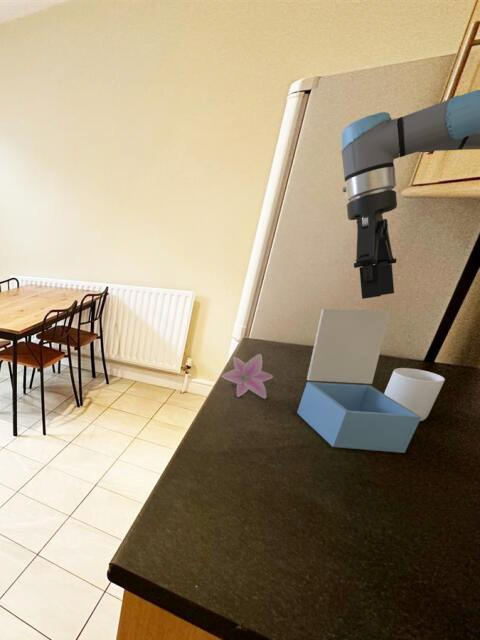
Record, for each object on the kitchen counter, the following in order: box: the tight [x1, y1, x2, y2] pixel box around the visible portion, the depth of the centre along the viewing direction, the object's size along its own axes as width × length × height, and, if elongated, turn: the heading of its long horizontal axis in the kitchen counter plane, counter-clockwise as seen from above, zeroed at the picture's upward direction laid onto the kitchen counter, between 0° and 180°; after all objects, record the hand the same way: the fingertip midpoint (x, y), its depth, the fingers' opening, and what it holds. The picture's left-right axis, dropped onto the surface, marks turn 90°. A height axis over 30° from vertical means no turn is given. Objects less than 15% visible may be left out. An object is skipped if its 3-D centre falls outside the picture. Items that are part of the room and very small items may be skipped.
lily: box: [221, 353, 274, 400], centre depth 111 cm, size 12×12×10 cm
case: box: [296, 381, 421, 454], centre depth 91 cm, size 16×13×8 cm
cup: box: [383, 367, 446, 422], centre depth 98 cm, size 8×12×10 cm
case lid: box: [306, 308, 391, 385], centre depth 94 cm, size 16×13×1 cm
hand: (378, 296), depth 89 cm, fingers open, 13 cm apart
